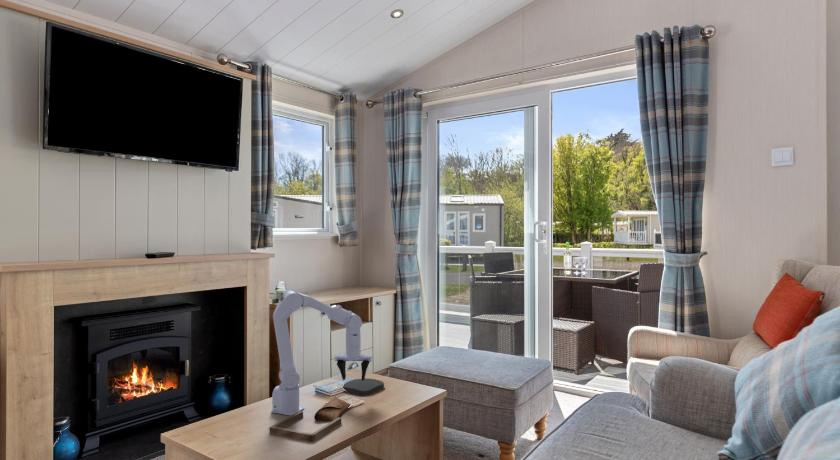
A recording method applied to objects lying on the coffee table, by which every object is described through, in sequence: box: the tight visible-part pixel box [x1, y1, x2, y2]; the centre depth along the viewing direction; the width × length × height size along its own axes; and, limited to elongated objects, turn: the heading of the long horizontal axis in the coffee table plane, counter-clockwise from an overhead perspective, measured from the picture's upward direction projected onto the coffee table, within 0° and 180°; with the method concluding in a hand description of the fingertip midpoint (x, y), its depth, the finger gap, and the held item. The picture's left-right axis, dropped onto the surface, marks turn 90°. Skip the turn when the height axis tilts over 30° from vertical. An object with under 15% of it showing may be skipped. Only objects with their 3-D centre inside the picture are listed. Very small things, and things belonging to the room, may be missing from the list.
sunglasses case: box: [314, 395, 352, 423], centre depth 184 cm, size 18×7×7 cm
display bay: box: [269, 410, 342, 443], centre depth 170 cm, size 17×16×2 cm
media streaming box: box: [342, 377, 385, 397], centre depth 212 cm, size 15×15×3 cm
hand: (353, 379), depth 196 cm, fingers open, 7 cm apart
